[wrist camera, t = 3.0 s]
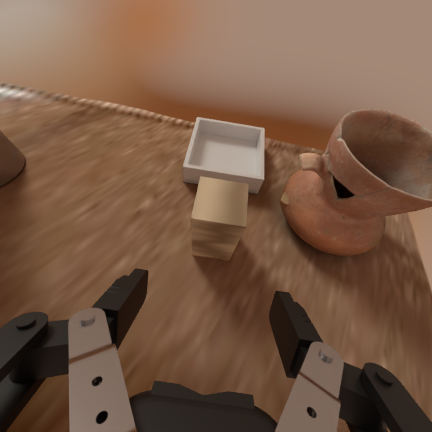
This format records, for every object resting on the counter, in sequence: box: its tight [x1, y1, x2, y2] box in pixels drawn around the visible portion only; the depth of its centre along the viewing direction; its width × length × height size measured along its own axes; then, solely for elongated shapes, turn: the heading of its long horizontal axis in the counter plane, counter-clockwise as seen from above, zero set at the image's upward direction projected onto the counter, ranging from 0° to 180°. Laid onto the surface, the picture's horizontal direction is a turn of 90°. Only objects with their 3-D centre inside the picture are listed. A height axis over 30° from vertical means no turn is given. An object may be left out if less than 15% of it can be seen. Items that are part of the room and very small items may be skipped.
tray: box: [183, 117, 264, 194], centre depth 34 cm, size 12×12×4 cm
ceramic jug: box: [280, 109, 432, 256], centre depth 25 cm, size 18×14×14 cm
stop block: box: [191, 176, 249, 261], centre depth 23 cm, size 5×5×10 cm
